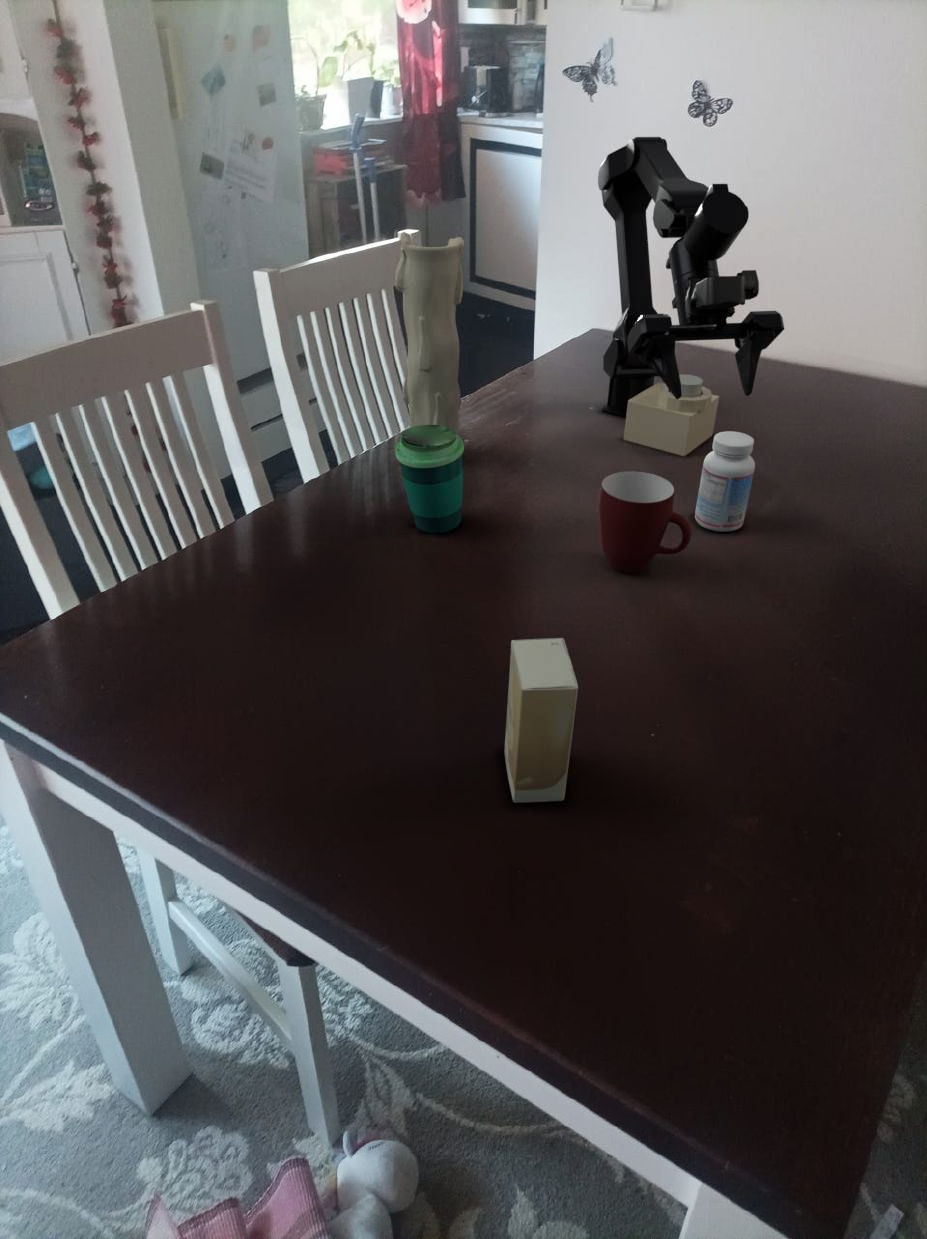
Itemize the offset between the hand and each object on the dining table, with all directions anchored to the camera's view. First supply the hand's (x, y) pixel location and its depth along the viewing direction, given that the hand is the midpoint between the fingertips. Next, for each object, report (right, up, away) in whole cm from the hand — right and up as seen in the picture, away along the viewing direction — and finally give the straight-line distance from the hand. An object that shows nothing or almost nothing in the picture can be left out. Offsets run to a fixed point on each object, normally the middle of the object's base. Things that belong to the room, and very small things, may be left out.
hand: (714, 396), depth 109 cm
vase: (-36, -4, +17) cm, 40 cm away
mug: (-11, -22, -8) cm, 26 cm away
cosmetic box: (-26, -41, -36) cm, 61 cm away
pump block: (0, 0, +23) cm, 23 cm away
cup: (-35, -16, 0) cm, 39 cm away
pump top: (+1, +5, +17) cm, 18 cm away
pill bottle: (+1, -16, +1) cm, 16 cm away
